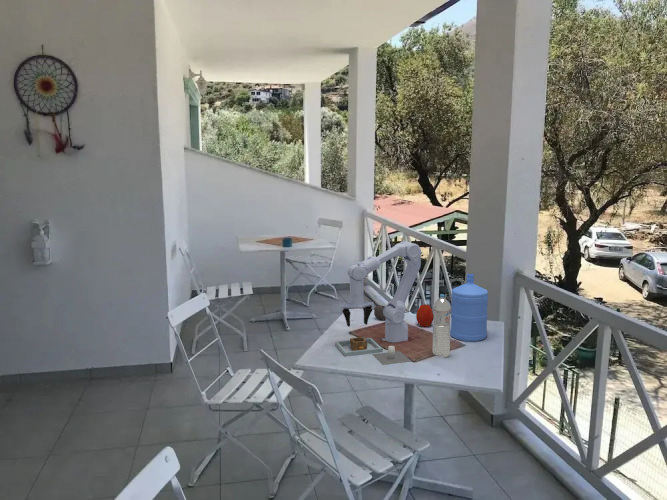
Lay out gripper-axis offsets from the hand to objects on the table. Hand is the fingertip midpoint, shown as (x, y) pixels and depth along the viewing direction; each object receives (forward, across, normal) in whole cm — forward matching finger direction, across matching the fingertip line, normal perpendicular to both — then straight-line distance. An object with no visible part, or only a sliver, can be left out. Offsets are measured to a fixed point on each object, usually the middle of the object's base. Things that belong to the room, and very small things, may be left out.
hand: (357, 325), depth 226 cm
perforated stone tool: (+10, +27, +30) cm, 42 cm away
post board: (+9, +7, -20) cm, 23 cm away
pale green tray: (+9, -1, -5) cm, 11 cm away
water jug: (+10, +51, -4) cm, 52 cm away
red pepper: (+10, +40, +17) cm, 45 cm away
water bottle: (+10, +28, -21) cm, 37 cm away
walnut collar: (+9, -1, -6) cm, 10 cm away
